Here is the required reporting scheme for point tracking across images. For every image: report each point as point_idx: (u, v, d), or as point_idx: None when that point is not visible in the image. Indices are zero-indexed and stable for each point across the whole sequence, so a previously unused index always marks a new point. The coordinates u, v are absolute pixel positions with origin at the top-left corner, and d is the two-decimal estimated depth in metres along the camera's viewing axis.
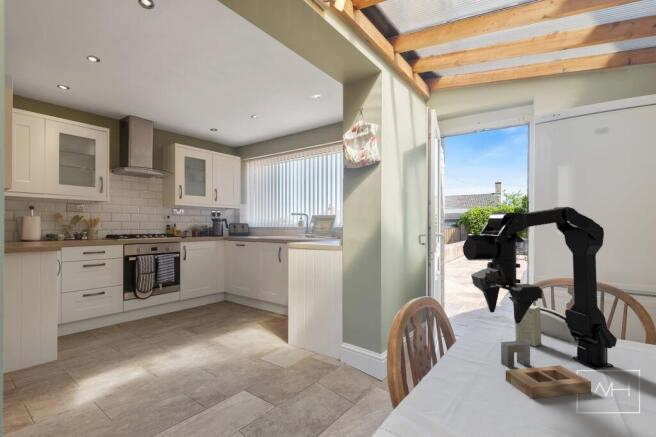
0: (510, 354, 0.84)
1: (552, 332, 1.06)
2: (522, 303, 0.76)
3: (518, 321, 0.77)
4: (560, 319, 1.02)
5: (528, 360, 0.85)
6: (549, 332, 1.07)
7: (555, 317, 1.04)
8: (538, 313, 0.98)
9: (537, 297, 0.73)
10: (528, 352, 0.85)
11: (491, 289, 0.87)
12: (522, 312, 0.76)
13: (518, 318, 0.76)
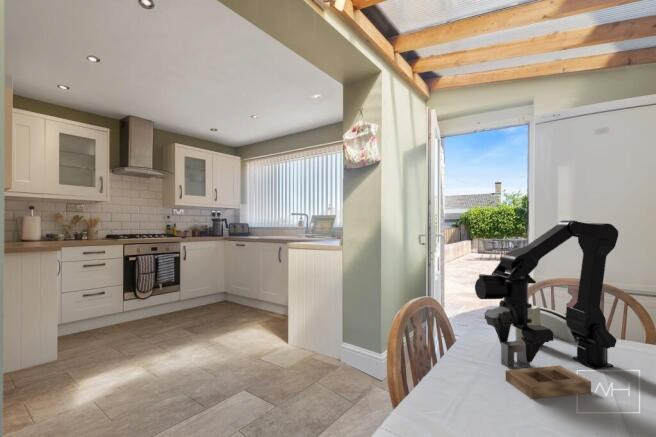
0: (510, 354, 0.84)
1: None
2: (534, 343, 0.80)
3: (530, 360, 0.80)
4: (561, 319, 1.02)
5: None
6: None
7: (556, 317, 1.04)
8: (538, 313, 0.98)
9: (548, 339, 0.76)
10: None
11: (503, 325, 0.90)
12: (534, 352, 0.80)
13: (530, 357, 0.80)
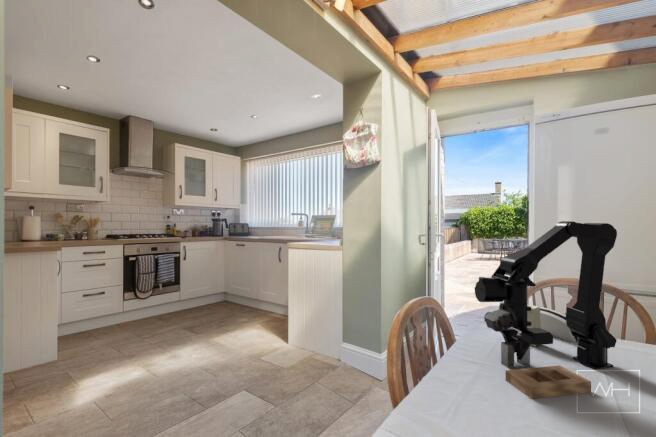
0: (510, 354, 0.84)
1: (553, 333, 1.06)
2: (523, 341, 0.83)
3: (520, 358, 0.84)
4: (561, 319, 1.02)
5: (528, 360, 0.85)
6: None
7: (556, 317, 1.03)
8: (538, 313, 0.98)
9: (548, 343, 0.76)
10: (527, 352, 0.85)
11: (511, 332, 0.87)
12: (523, 350, 0.83)
13: (520, 355, 0.83)
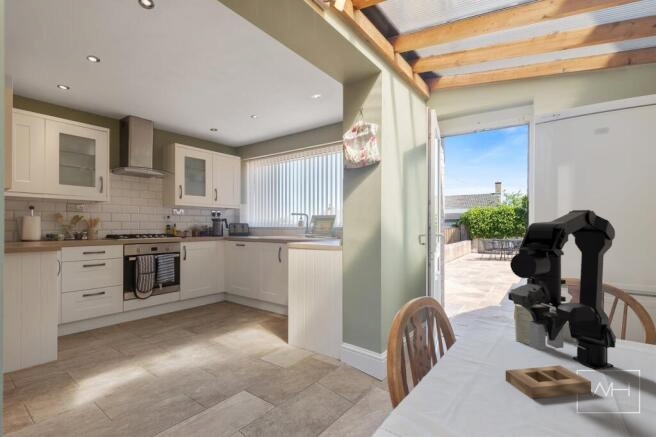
0: (541, 334, 0.73)
1: None
2: (557, 319, 0.72)
3: (552, 338, 0.73)
4: None
5: (561, 341, 0.74)
6: None
7: None
8: None
9: (589, 319, 0.65)
10: (561, 332, 0.74)
11: (540, 310, 0.76)
12: (557, 329, 0.72)
13: (553, 335, 0.72)
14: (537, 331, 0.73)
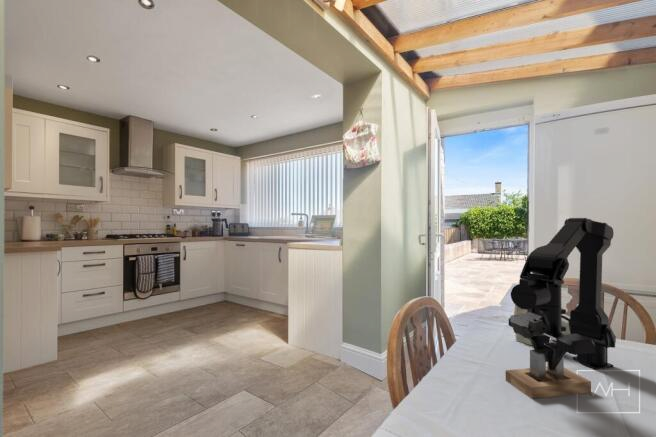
0: (541, 364, 0.73)
1: None
2: (557, 349, 0.72)
3: (553, 368, 0.73)
4: (563, 320, 1.02)
5: (561, 371, 0.74)
6: None
7: None
8: None
9: (589, 352, 0.65)
10: (561, 361, 0.74)
11: (541, 338, 0.76)
12: (557, 359, 0.72)
13: (553, 365, 0.72)
14: (537, 361, 0.73)
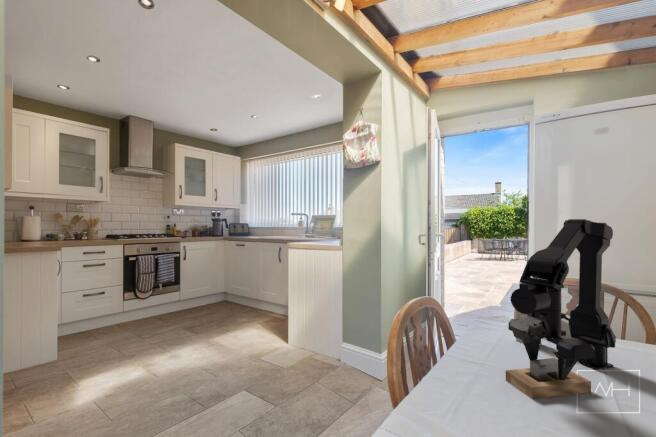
0: (542, 375, 0.73)
1: None
2: (568, 359, 0.69)
3: (563, 378, 0.70)
4: (564, 320, 1.02)
5: None
6: None
7: None
8: None
9: (589, 356, 0.65)
10: None
11: None
12: (568, 369, 0.69)
13: (563, 375, 0.70)
14: (537, 371, 0.73)
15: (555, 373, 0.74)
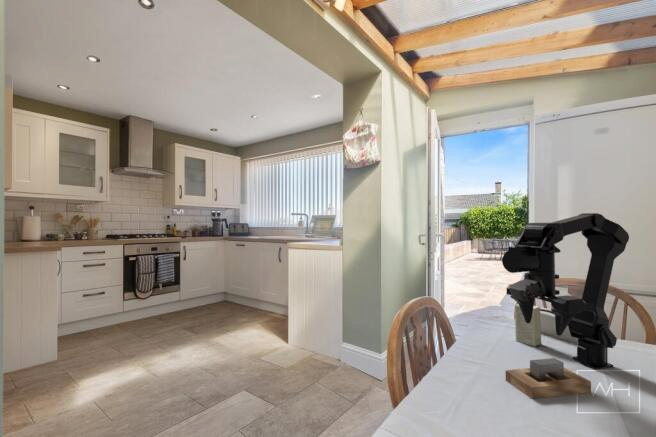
0: (542, 375, 0.73)
1: (556, 334, 1.05)
2: (564, 315, 0.75)
3: (560, 333, 0.76)
4: None
5: None
6: (553, 334, 1.06)
7: None
8: (538, 313, 0.98)
9: (581, 309, 0.72)
10: (561, 371, 0.74)
11: None
12: (564, 324, 0.75)
13: (560, 330, 0.76)
14: (537, 371, 0.73)
15: (555, 373, 0.74)
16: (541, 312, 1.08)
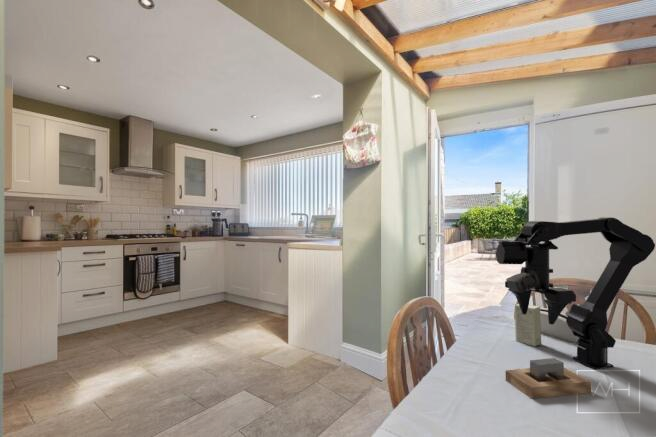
0: (542, 375, 0.73)
1: (557, 334, 1.05)
2: (556, 306, 0.82)
3: (552, 322, 0.83)
4: None
5: None
6: (553, 334, 1.06)
7: (561, 318, 1.02)
8: (538, 313, 0.98)
9: (571, 300, 0.79)
10: (561, 371, 0.74)
11: (523, 292, 0.93)
12: (556, 314, 0.82)
13: (552, 319, 0.82)
14: (537, 371, 0.73)
15: (555, 373, 0.74)
16: (542, 312, 1.07)
